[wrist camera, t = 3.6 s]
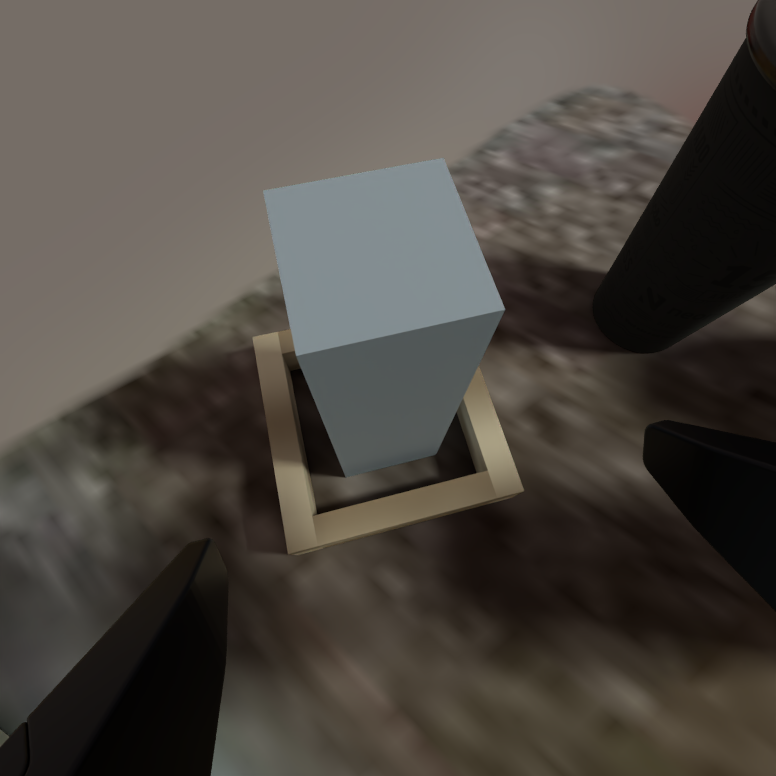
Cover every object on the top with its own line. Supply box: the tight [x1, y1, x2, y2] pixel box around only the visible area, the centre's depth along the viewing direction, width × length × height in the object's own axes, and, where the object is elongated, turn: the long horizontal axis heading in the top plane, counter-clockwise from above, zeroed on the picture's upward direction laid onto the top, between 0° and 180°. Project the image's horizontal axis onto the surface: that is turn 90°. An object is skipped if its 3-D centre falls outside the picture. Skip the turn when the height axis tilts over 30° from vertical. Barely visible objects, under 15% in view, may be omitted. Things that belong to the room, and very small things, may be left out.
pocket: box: [253, 329, 524, 555], centre depth 21 cm, size 10×10×2 cm
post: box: [263, 158, 505, 477], centre depth 16 cm, size 4×4×13 cm
